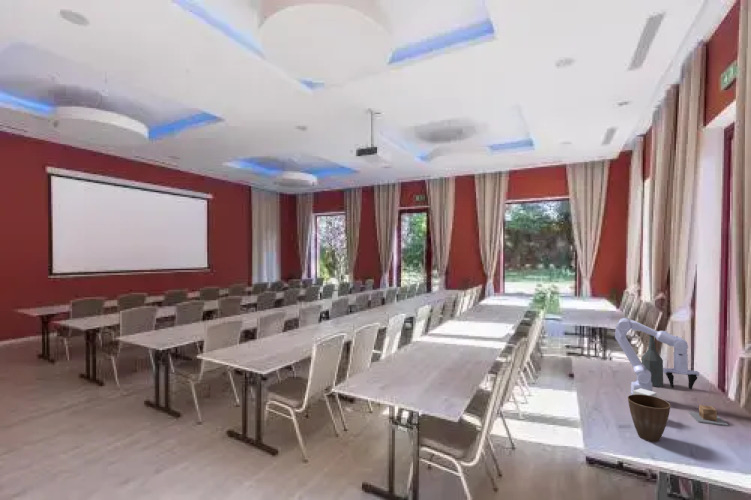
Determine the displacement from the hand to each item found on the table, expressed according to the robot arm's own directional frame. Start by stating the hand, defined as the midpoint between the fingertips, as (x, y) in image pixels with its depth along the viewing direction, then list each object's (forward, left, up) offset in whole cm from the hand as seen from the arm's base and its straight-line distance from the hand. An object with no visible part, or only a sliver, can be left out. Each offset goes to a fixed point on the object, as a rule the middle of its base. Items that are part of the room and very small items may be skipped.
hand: (681, 388), depth 193 cm
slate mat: (+6, -14, -9) cm, 18 cm away
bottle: (-4, +33, -10) cm, 35 cm away
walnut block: (+6, -14, -9) cm, 18 cm away
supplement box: (-21, -22, -10) cm, 32 cm away
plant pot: (-25, -45, -10) cm, 52 cm away
